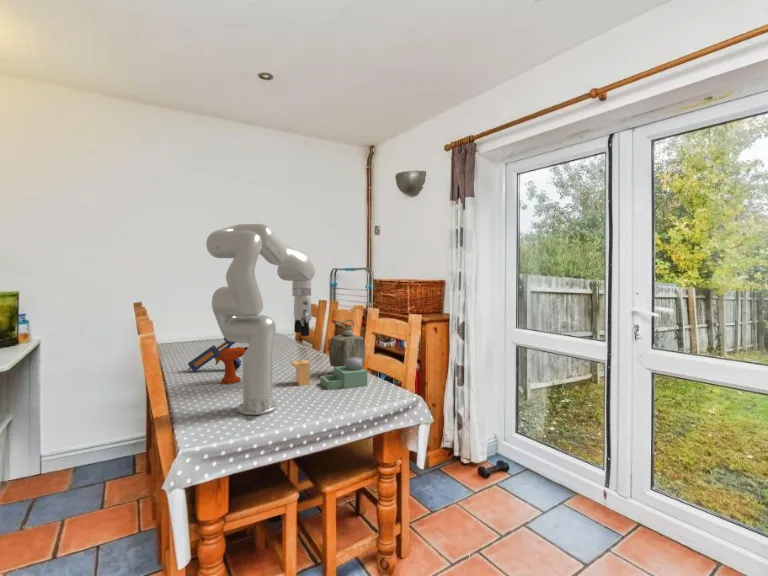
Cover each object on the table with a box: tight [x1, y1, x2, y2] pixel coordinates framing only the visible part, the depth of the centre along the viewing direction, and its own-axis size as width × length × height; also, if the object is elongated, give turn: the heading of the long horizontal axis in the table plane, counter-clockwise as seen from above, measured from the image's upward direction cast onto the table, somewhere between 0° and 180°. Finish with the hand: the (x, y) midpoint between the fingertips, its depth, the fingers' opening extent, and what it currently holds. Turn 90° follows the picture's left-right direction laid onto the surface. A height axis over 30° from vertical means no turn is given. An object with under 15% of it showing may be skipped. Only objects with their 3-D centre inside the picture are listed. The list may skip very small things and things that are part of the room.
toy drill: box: [219, 346, 249, 385], centre depth 169 cm, size 5×19×15 cm, turn 130°
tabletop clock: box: [328, 319, 366, 375], centre depth 179 cm, size 14×9×25 cm, turn 136°
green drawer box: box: [319, 357, 368, 390], centre depth 165 cm, size 12×16×10 cm
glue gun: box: [184, 337, 242, 373], centre depth 184 cm, size 6×31×15 cm
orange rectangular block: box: [290, 359, 311, 387], centre depth 165 cm, size 6×6×9 cm
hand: (301, 334), depth 165 cm, fingers open, 9 cm apart
